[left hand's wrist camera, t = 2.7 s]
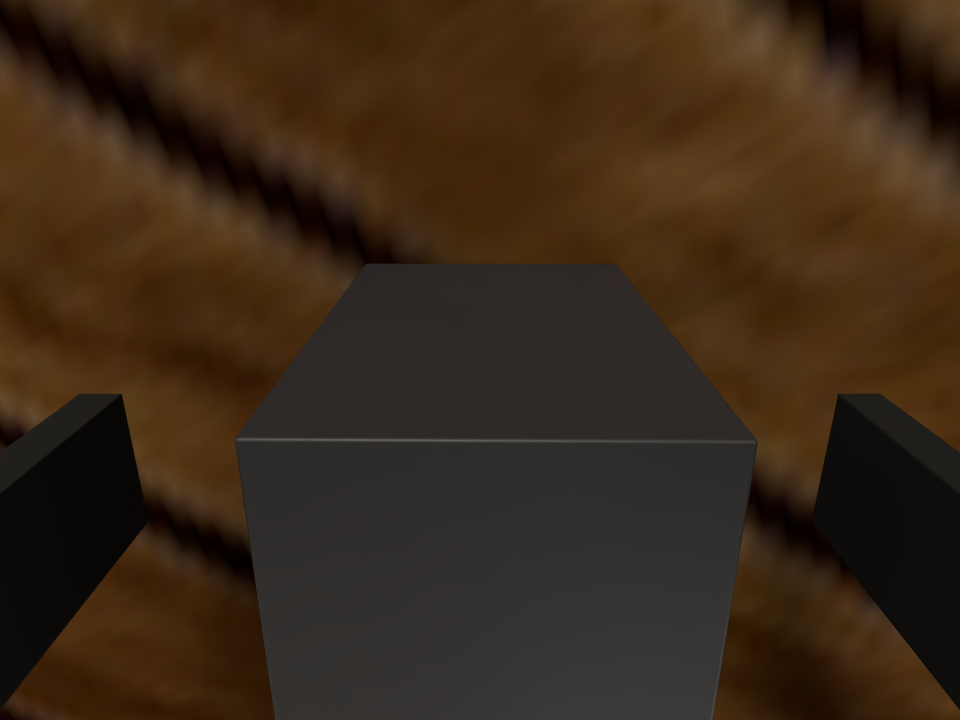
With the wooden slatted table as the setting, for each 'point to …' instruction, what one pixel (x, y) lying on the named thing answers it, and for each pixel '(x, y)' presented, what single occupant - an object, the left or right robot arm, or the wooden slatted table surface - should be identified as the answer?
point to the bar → (494, 504)
